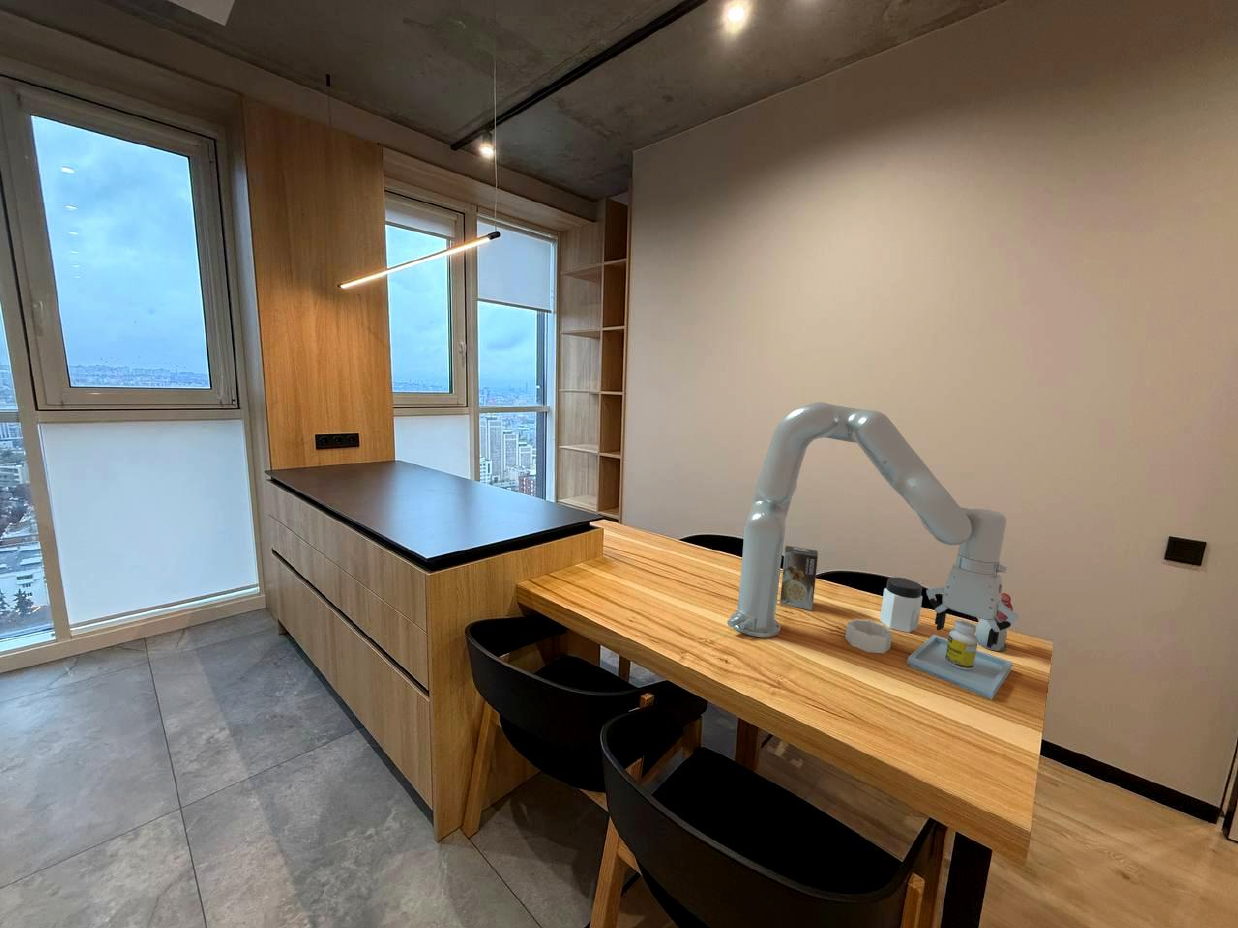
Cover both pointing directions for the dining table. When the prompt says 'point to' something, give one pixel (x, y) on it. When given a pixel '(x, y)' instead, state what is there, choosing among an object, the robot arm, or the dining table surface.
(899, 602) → the jar
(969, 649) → the supplement bottle
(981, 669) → the tray
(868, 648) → the bowl
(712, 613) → the dining table surface
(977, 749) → the dining table surface
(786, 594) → the coffee box
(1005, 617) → the decorative ornament
